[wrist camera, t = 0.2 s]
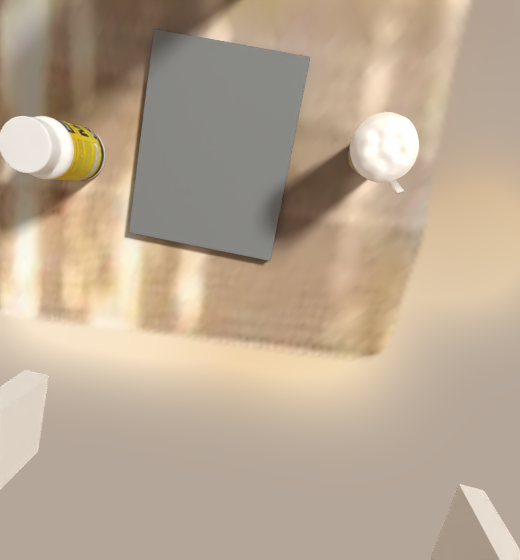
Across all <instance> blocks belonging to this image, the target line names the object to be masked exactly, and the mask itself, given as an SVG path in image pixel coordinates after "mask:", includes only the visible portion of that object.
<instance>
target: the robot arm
mask: <svg viewBox="0 0 520 560" xmlns="http://www.w3.org/2000/svg"><path fill="white" fill-rule="evenodd" d="M48 378H49V376H48V375H44V374H40V373H36V372H32V371H28V370H24V371H23V372H21V373H20V374H19V375H17V376H15V377H14V378H12V379H11V380H9V381H8V382H7V383H5V384H3V385H2V386H0V489H1V488H2V487H3V486H4V485H5V484H6V483H7V482H8V481H9V480H10V479H11V478H12V477H13V476H14V475H15V474H16V473H17V472H18V471H19V470H20V469H21V468H22V467H23V466H24V465H25V464H26V463H27V462H28V461H29V460H30V459H31V458H32V457H33V456H34V455H35V454H36V453H37V452H38V449H39V442H40V434H41V427H42V420H43V413H44V406H45V399H46V392H47V385H48ZM431 560H520V549H519V548H518V546H517V544H516V543H515V541H514V539H513V538H512V536H511V534H510V533H509V531H508V529H507V528H506V526H505V525H504V523H503V521H502V520H501V518H500V517H499V515H498V513H497V511H496V510H495V508H494V506H493V505H492V503H491V502H490V500H489V498H488V497H487V495H486V493H485V492H484V491H483V490H480V489H476V488H472V487H468V486H465V485H461V484H459V486H458V488H457V491H456V493H455V496H454V499H453V501H452V503H451V506H450V509H449V511H448V514H447V516H446V519H445V522H444V524H443V527H442V529H441V532H440V534H439V537H438V540H437V542H436V545H435V547H434V550H433V552H432V555H431Z"/></svg>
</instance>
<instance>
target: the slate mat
mask: <svg viewBox="0 0 520 560" xmlns="http://www.w3.org/2000/svg"><path fill="white" fill-rule="evenodd" d="M309 61H310V57H307V56H302V55H296V54H291V53H285V52H280V51H274V50H269V49H263V48H257V47H252V46H246V45H241V44H235V43H230V42H224V41H219V40H213V39H207V38H202V37H196V36H191V35H185V34H180V33H174V32H169V31H163V30H157V29H154V33H153V41H152V49H151V57H150V66H149V74H148V82H147V90H146V98H145V106H144V114H143V122H142V130H141V138H140V146H139V154H138V162H137V170H136V179H135V187H134V195H133V203H132V211H131V219H130V227H129V233H134V234H139V235H144V236H149V237H154V238H159V239H164V240H169V241H174V242H179V243H184V244H189V245H194V246H199V247H204V248H209V249H214V250H219V251H224V252H229V253H234V254H239V255H244V256H249V257H254V258H259V259H263V260H268V261H270V259H271V254H272V249H273V244H274V239H275V234H276V229H277V224H278V219H279V214H280V209H281V203H282V198H283V193H284V188H285V183H286V178H287V173H288V168H289V163H290V158H291V153H292V147H293V142H294V137H295V132H296V127H297V122H298V117H299V112H300V107H301V102H302V97H303V92H304V86H305V81H306V76H307V71H308V66H309Z"/></svg>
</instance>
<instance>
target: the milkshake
mask: <svg viewBox="0 0 520 560" xmlns="http://www.w3.org/2000/svg"><path fill="white" fill-rule="evenodd" d="M418 151H419V141H418V135H417V132H416V129H415V127H414V126H413V124H412V123H411V122H410V121H409V120H408V119H407V118H405V117H403V116H401V115H398V114H395V113H391V112H382V113H378V114H375V115H372V116H370V117H368V118H367V119H365V120H364V121H363V122H362V123H361V124H360V125H359V126H358V127H357V128H356V130H355V131H354V133H353V135H352V138H351V142H350V149H349V152H348V154H347V157H348V161H349V165H350V168H352V169H353V170H354V171H355V172H356V173H358V174H359V175H361V176H364V177H365V178H367V179H368V180H371V181H374V182H389V183H390V184H391V186H392V187H393V188H394V190H395V191H396V193H397V194H399V193H402V192H404V190H403V189H402V187H401V186H400V185H399V184H398V182H397V181H396V179H398V178H400V177H402V176H403V175H404V174H406V173H407V172H408V171H409V170H410V169H411V167H412V166H413V164H414V162H415V160H416V158H417V155H418Z"/></svg>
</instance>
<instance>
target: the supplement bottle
mask: <svg viewBox="0 0 520 560" xmlns="http://www.w3.org/2000/svg"><path fill="white" fill-rule="evenodd" d="M0 152H1V154H2V157H3V158H4V160H5V161H6V163H7V164H8V165H9V166H10V167H12V168H13V169H15V170H16V171H19V172H21V173H27V174H30V175H32V176H34V177H37V178H40V179H50V180H75V181H85V180H89V179H92V178H94V177H95V176H97V175H98V174H99V173H100V171H101V170H102V168H103V166H104V163H105V148H104V145H103V143H102V141H101V139H100V138H99V137H98V135H97V134H96V133H94V132H93V131H92V130H90V129H88V128H86V127H83V126H79V125H75V124H72V123H69V122H65V121H62V120H58V119H54V118H51V117H46V116H35V117H28V116H18V117H14V118H12V119H10V120H9V121H7V122H6V123H5V125H4V126H3V127H2V129H1V132H0Z"/></svg>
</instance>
